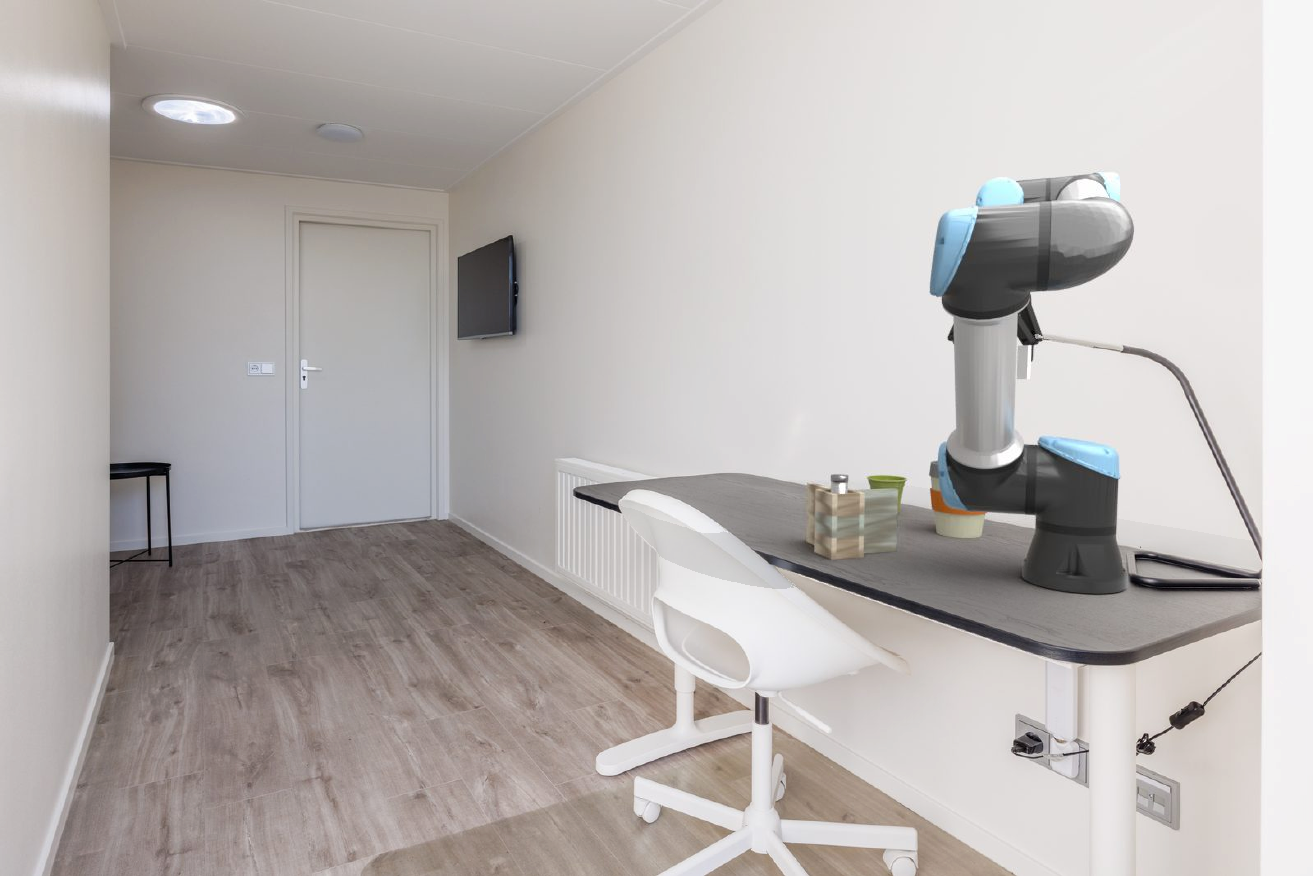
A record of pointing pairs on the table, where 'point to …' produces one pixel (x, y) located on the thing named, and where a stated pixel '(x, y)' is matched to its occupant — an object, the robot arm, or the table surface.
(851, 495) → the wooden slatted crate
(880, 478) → the plant pot
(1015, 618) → the table surface
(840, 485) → the hinge pin
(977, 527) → the reusable coffee cup
